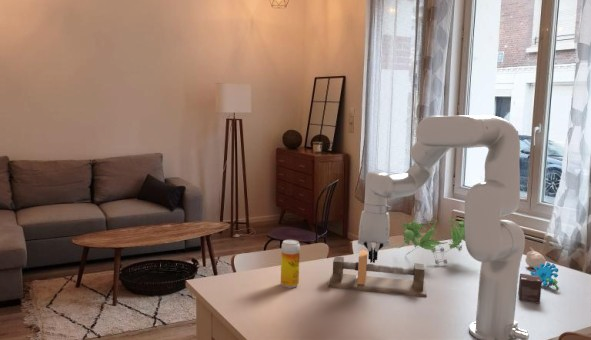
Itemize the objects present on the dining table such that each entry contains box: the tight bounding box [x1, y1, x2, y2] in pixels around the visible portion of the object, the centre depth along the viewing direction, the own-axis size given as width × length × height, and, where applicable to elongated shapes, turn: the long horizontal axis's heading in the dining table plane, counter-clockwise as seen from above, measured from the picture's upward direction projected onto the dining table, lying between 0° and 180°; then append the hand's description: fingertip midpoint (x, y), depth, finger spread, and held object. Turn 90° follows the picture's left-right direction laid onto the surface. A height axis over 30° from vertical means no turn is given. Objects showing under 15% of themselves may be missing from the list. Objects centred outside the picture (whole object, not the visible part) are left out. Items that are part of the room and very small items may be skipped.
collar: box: [357, 249, 369, 285], centre depth 170 cm, size 2×9×9 cm, turn 169°
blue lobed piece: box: [529, 262, 560, 290], centre depth 176 cm, size 11×6×10 cm
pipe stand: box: [327, 255, 428, 298], centre depth 170 cm, size 32×12×8 cm, turn 79°
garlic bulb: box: [525, 246, 547, 270], centre depth 193 cm, size 7×6×8 cm
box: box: [517, 273, 543, 304], centre depth 162 cm, size 6×6×7 cm
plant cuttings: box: [397, 218, 465, 267], centre depth 197 cm, size 35×17×22 cm
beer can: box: [280, 239, 301, 289], centre depth 167 cm, size 6×6×15 cm
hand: (372, 261), depth 169 cm, fingers closed
